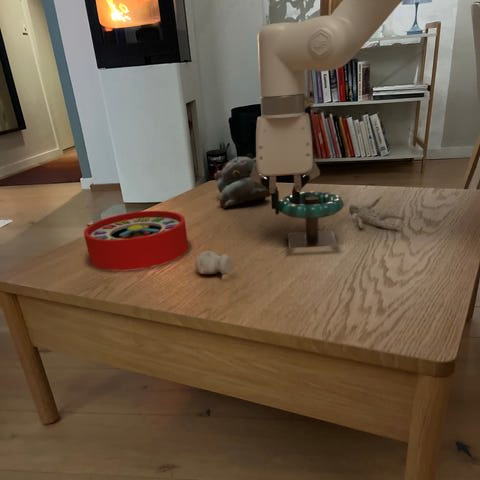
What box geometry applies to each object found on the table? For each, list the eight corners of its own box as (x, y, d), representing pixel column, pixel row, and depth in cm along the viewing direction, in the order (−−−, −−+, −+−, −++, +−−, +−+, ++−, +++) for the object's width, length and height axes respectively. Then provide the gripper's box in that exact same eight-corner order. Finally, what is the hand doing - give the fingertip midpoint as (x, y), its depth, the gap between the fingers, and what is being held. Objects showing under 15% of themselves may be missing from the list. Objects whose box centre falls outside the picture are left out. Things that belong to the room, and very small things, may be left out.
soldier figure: (387, 239, 95) (337, 215, 100) (389, 248, 100) (341, 224, 105) (409, 207, 95) (358, 184, 100) (410, 218, 100) (361, 195, 105)
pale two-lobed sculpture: (193, 278, 86) (213, 262, 88) (220, 289, 80) (241, 271, 82) (184, 258, 83) (205, 242, 85) (211, 268, 78) (233, 251, 80)
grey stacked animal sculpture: (211, 210, 122) (200, 157, 122) (230, 216, 133) (220, 168, 133) (265, 192, 116) (253, 137, 116) (280, 200, 127) (269, 150, 127)
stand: (332, 236, 97) (333, 191, 93) (337, 251, 89) (338, 202, 85) (288, 238, 98) (287, 193, 94) (289, 253, 90) (288, 205, 86)
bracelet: (338, 201, 95) (338, 189, 94) (346, 218, 85) (347, 204, 83) (278, 204, 96) (278, 192, 95) (279, 221, 86) (279, 208, 84)
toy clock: (129, 208, 107) (203, 213, 98) (134, 233, 110) (206, 241, 101) (61, 235, 92) (141, 245, 83) (69, 263, 95) (147, 276, 85)
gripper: (328, 101, 85) (326, 204, 93) (237, 108, 86) (244, 209, 95) (332, 105, 78) (330, 215, 87) (234, 112, 80) (242, 219, 88)
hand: (285, 211), depth 91 cm, fingers closed on bracelet, 2 cm apart
